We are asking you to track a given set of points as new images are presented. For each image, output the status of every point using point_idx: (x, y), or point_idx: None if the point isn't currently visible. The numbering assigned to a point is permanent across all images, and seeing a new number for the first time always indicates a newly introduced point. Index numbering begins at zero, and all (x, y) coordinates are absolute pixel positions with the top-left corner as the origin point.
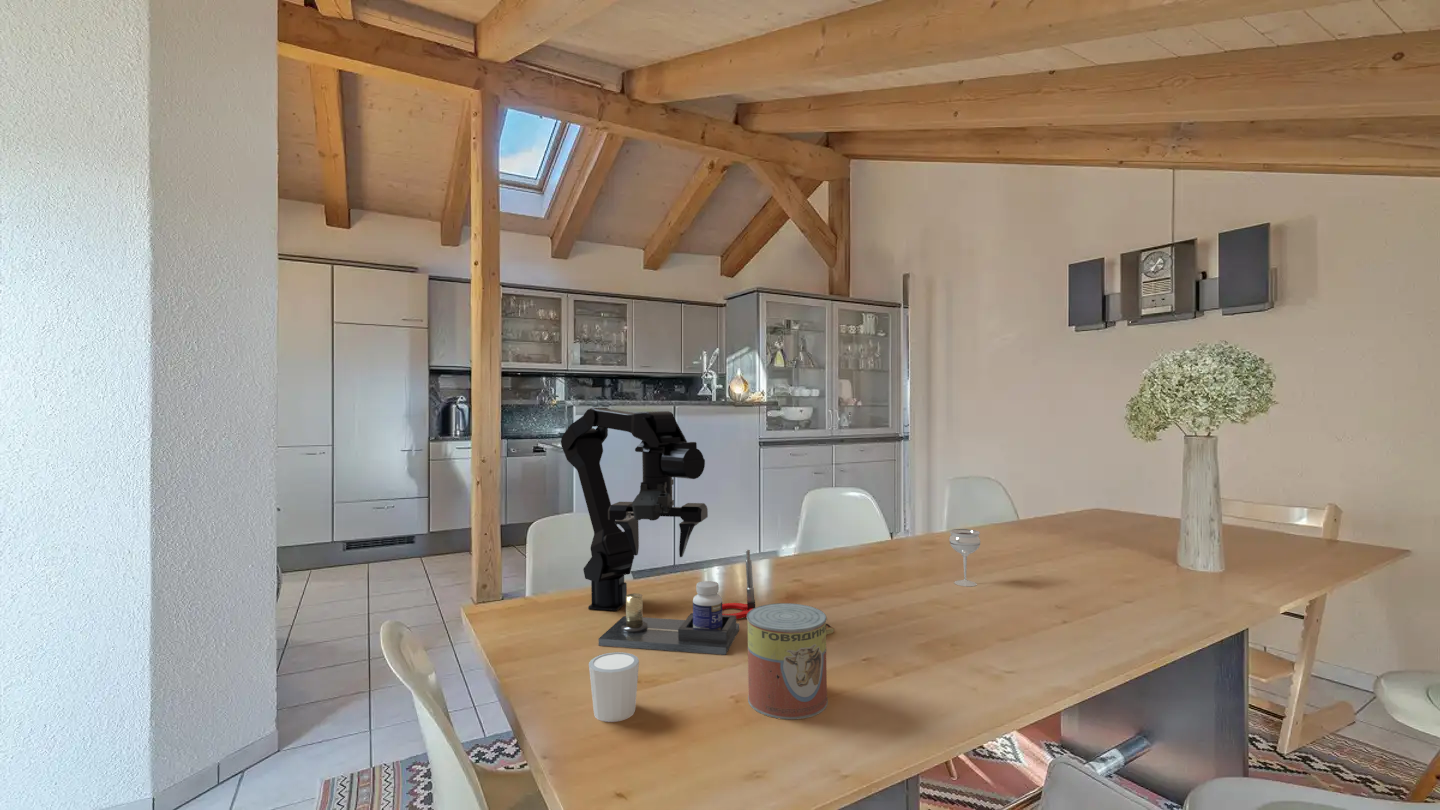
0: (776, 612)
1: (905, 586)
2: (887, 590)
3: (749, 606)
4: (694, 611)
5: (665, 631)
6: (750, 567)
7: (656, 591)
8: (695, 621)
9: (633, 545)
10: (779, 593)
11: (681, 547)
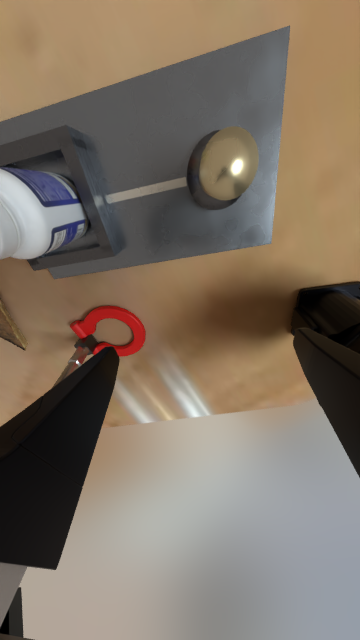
0: None
1: None
2: None
3: (83, 339)
4: (34, 179)
5: (142, 184)
6: None
7: (257, 376)
8: (46, 176)
9: (336, 353)
10: None
11: (80, 370)
